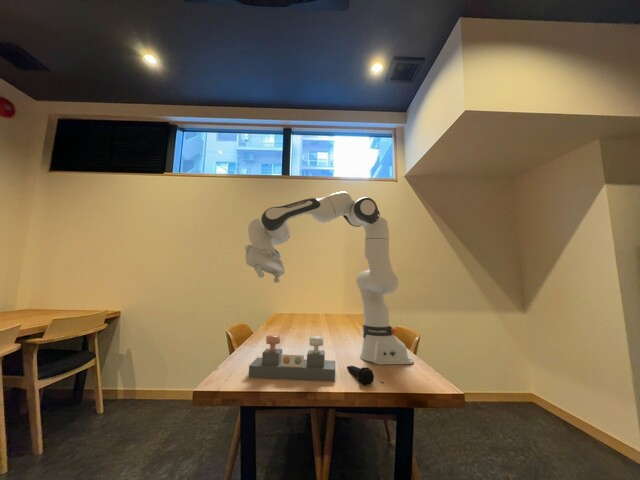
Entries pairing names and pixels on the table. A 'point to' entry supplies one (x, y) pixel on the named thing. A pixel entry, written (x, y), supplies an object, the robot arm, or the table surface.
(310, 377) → the button console
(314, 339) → the grey button
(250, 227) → the robot arm
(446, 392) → the table surface
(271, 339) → the terracotta button
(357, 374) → the microphone
